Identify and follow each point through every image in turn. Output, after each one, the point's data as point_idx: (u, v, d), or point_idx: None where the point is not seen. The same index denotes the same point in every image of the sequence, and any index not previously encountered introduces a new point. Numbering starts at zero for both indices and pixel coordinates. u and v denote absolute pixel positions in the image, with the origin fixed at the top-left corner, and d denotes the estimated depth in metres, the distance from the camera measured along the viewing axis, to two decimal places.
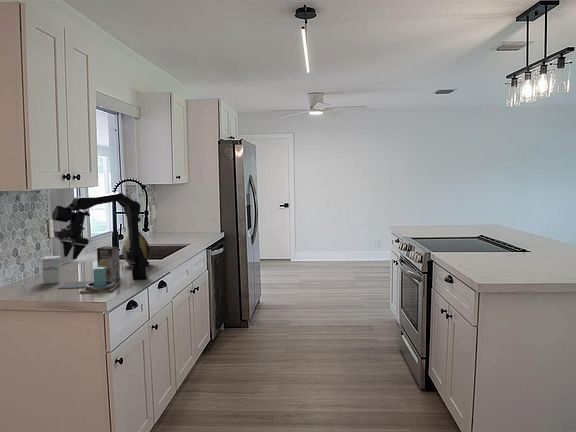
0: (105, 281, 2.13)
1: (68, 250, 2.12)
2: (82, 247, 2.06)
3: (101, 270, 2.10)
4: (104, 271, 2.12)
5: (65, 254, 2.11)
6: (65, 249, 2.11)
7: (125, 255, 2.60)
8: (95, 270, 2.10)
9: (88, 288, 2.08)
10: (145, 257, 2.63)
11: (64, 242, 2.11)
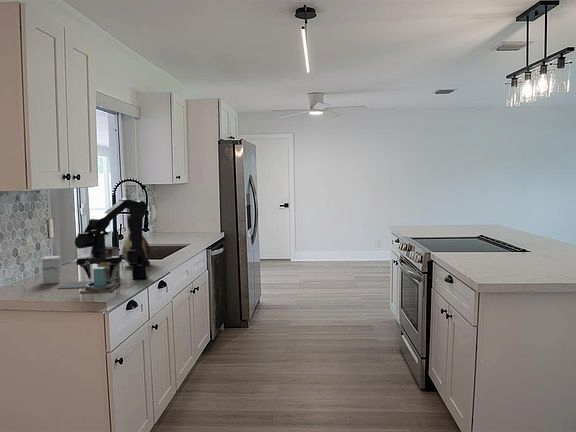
0: (105, 281, 2.13)
1: (90, 272, 2.13)
2: None
3: (101, 270, 2.10)
4: (104, 271, 2.12)
5: (90, 276, 2.12)
6: (89, 272, 2.11)
7: (125, 255, 2.60)
8: (95, 270, 2.10)
9: (88, 288, 2.08)
10: None
11: (87, 266, 2.10)
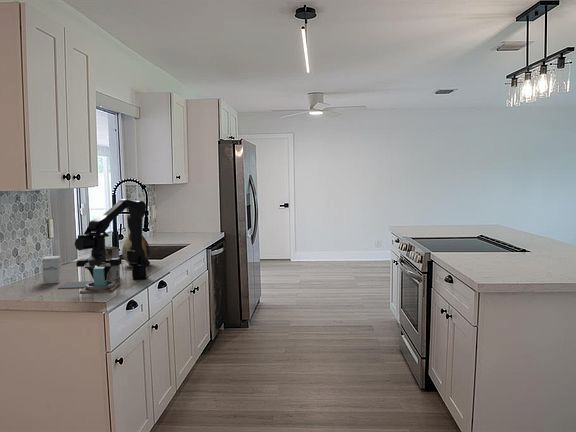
0: (105, 281, 2.13)
1: None
2: None
3: (101, 270, 2.10)
4: (104, 271, 2.12)
5: None
6: None
7: (125, 255, 2.60)
8: (95, 270, 2.10)
9: (88, 288, 2.08)
10: None
11: (91, 267, 2.10)
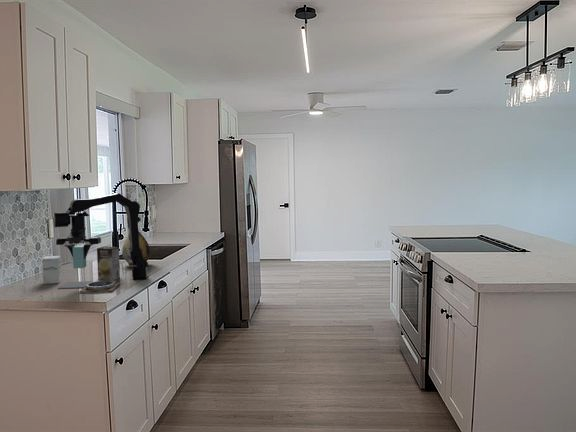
0: (84, 259, 2.18)
1: None
2: (89, 246, 2.19)
3: (80, 248, 2.15)
4: (83, 249, 2.16)
5: None
6: None
7: (125, 255, 2.60)
8: (75, 248, 2.14)
9: (88, 288, 2.08)
10: (145, 257, 2.63)
11: (71, 246, 2.15)
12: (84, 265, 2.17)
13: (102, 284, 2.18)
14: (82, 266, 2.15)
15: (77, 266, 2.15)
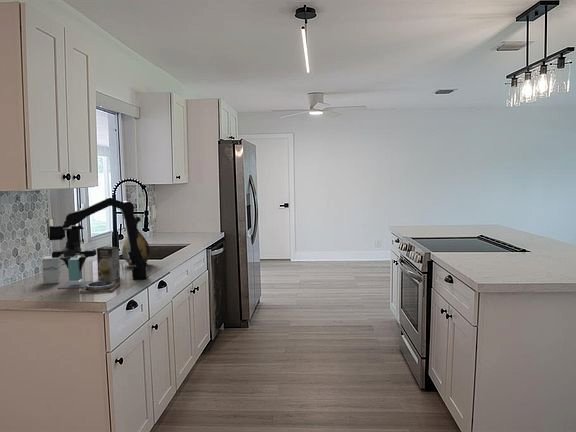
0: (80, 272, 2.20)
1: None
2: (85, 258, 2.22)
3: (76, 261, 2.17)
4: (79, 262, 2.19)
5: None
6: None
7: (125, 255, 2.60)
8: (70, 261, 2.17)
9: (88, 288, 2.08)
10: (145, 257, 2.63)
11: (67, 258, 2.17)
12: (80, 277, 2.20)
13: (102, 284, 2.18)
14: (77, 278, 2.18)
15: (73, 278, 2.18)
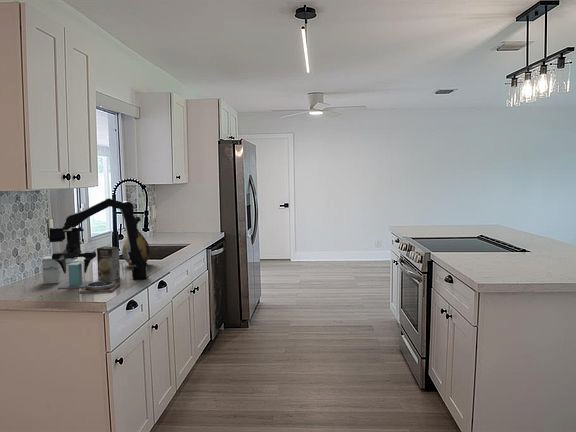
0: (80, 277, 2.21)
1: (65, 266, 2.20)
2: (89, 260, 2.22)
3: (76, 266, 2.17)
4: (79, 267, 2.19)
5: (65, 271, 2.19)
6: (64, 266, 2.18)
7: (125, 255, 2.60)
8: (70, 266, 2.17)
9: (88, 288, 2.08)
10: (145, 257, 2.63)
11: (62, 260, 2.17)
12: (80, 282, 2.20)
13: (102, 284, 2.18)
14: (78, 283, 2.18)
15: (73, 283, 2.18)
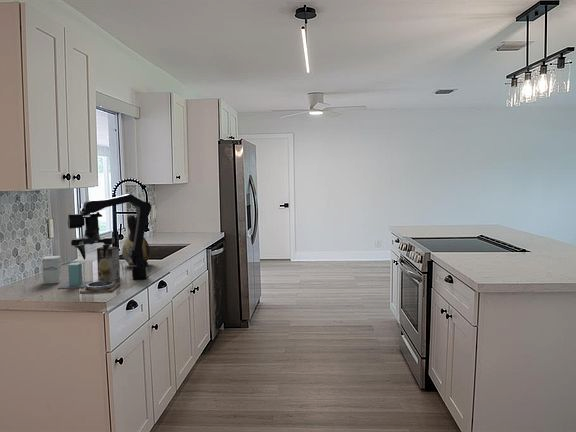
0: (80, 277, 2.21)
1: (84, 252, 2.21)
2: (108, 245, 2.23)
3: (76, 266, 2.17)
4: (79, 267, 2.19)
5: (84, 257, 2.20)
6: (83, 252, 2.20)
7: (125, 255, 2.60)
8: (70, 266, 2.17)
9: (88, 288, 2.08)
10: (145, 257, 2.63)
11: (81, 246, 2.18)
12: (80, 282, 2.20)
13: (102, 284, 2.18)
14: (78, 283, 2.18)
15: (73, 283, 2.18)
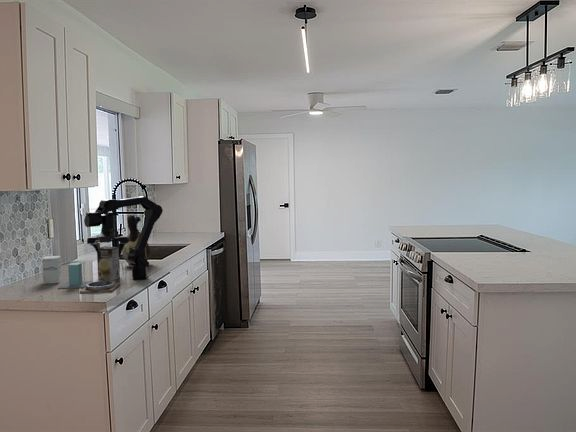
0: (80, 277, 2.21)
1: (99, 251, 2.22)
2: (123, 244, 2.24)
3: (76, 266, 2.17)
4: (79, 267, 2.19)
5: (99, 255, 2.21)
6: (98, 251, 2.20)
7: (125, 255, 2.60)
8: (70, 266, 2.17)
9: (88, 288, 2.08)
10: (145, 257, 2.63)
11: (97, 245, 2.19)
12: (80, 282, 2.20)
13: (102, 284, 2.18)
14: (78, 283, 2.18)
15: (73, 283, 2.18)
